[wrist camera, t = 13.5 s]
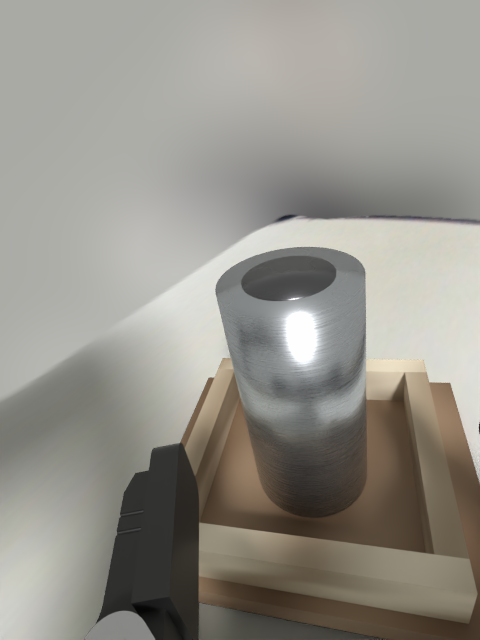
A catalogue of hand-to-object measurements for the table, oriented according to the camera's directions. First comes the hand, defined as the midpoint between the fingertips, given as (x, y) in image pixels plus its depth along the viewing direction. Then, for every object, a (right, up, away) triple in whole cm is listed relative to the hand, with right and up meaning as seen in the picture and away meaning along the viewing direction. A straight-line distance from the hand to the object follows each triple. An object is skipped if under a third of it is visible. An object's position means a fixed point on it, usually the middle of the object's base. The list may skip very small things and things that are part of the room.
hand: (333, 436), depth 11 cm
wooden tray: (+1, -5, +9) cm, 10 cm away
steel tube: (+1, -4, +8) cm, 9 cm away
